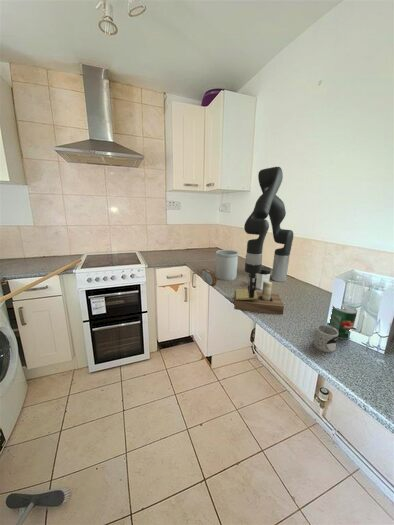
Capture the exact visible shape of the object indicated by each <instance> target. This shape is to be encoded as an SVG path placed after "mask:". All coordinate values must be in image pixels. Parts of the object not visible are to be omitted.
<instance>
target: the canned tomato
mask: <svg viewBox="0 0 394 525" xmlns="http://www.w3.org/2000/svg"><path fill="white" fill-rule="evenodd" d="M332 308H333V309H332ZM332 308H331V312H332V314H331V313H330V317H331V319H329V321H330V323H329V322H328V326H330V327H332V328H336V330H337V331H338V333H339V334H338V338H337V339H341V340H349V339H348V333H349V330H350V329H352V328H353V329H354V326H355V323H356V322H355V321H356V318H357V314H358V309H356V308H355V309H348V308H344V309H343V308H342V309H339V308H335V307H334V306H333V305H332Z"/></svg>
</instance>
